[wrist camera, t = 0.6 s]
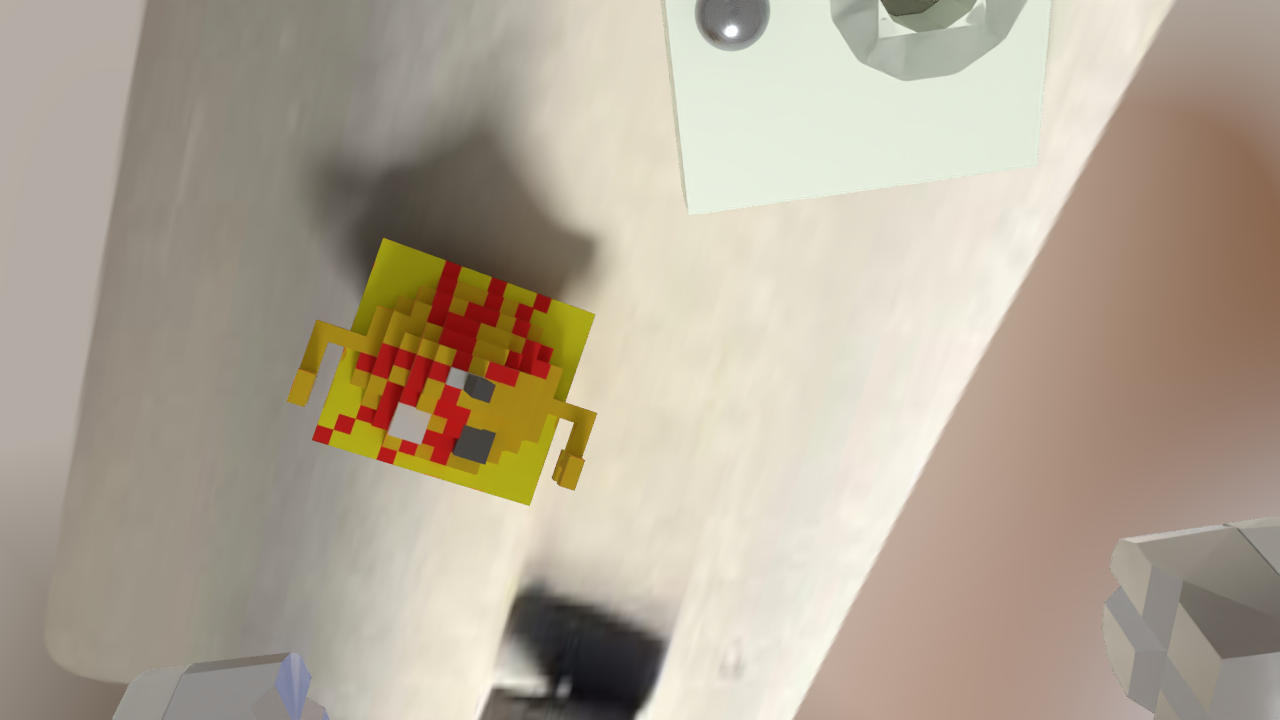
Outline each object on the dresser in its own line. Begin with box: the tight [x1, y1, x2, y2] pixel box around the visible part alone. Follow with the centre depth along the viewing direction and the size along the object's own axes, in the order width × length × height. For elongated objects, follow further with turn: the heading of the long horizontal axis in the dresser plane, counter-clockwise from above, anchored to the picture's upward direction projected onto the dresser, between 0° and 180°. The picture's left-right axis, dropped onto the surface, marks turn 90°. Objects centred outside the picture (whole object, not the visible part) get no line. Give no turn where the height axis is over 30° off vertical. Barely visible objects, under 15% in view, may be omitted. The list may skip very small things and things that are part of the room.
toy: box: [287, 238, 597, 506], centre depth 46 cm, size 14×10×15 cm
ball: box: [695, 0, 770, 52], centre depth 39 cm, size 3×3×3 cm
